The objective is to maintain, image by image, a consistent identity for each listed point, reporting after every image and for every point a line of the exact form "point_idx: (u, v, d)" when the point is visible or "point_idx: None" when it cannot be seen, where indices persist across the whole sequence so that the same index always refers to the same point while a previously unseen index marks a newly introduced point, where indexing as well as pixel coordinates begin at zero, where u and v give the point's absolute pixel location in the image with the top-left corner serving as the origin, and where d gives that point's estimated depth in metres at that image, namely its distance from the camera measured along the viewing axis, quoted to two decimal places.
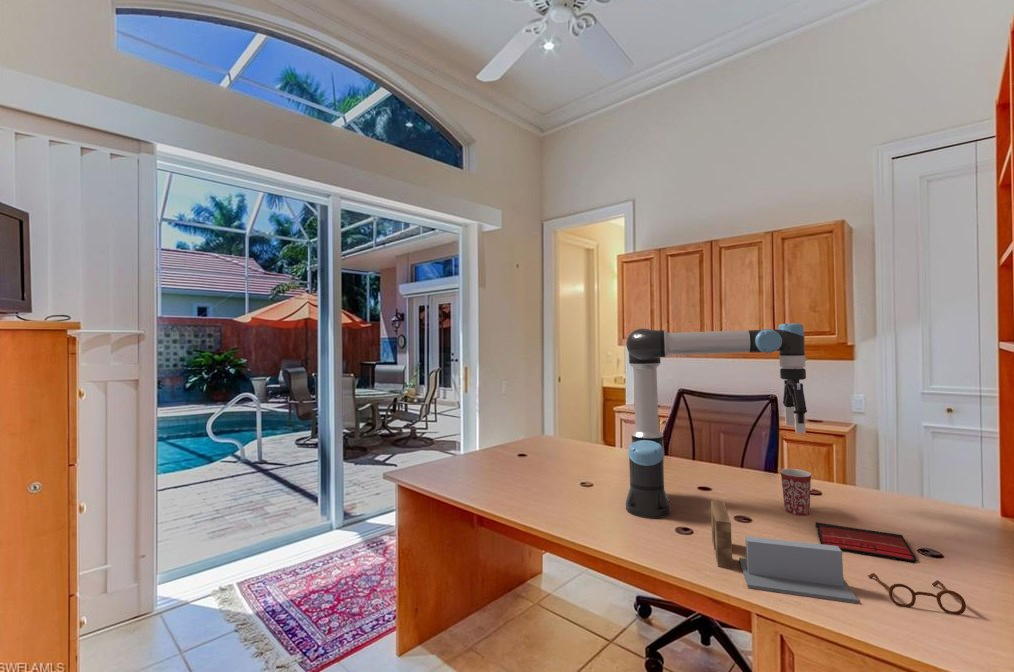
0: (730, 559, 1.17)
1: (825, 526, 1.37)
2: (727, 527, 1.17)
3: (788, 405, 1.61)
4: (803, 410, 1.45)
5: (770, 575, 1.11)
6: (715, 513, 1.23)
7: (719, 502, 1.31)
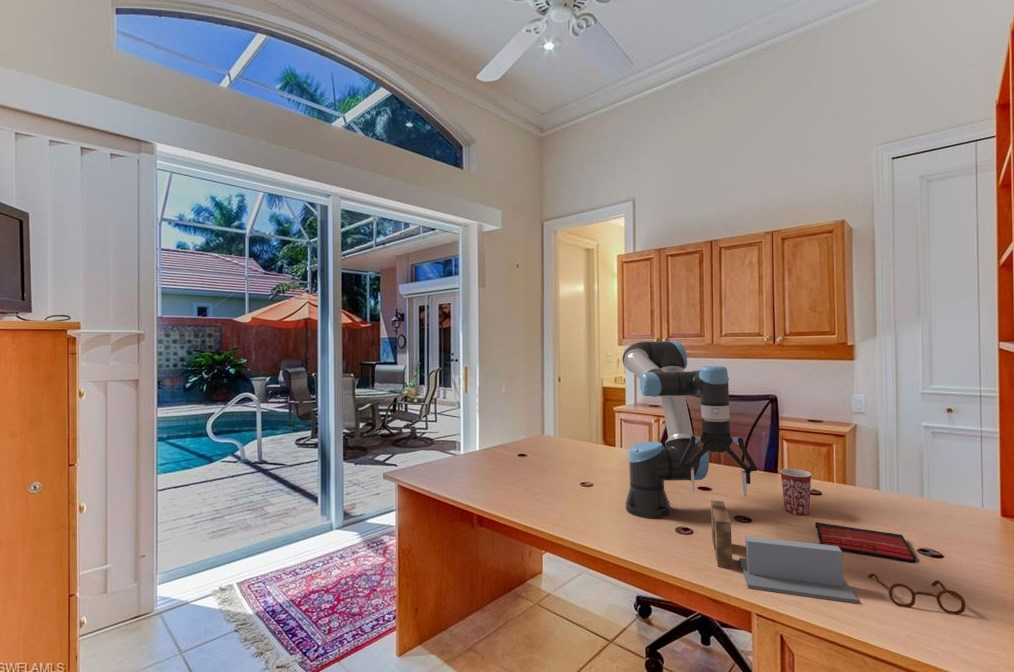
0: (730, 559, 1.17)
1: (825, 526, 1.37)
2: (727, 527, 1.17)
3: None
4: (680, 463, 1.32)
5: (770, 575, 1.11)
6: (715, 513, 1.23)
7: (719, 502, 1.31)
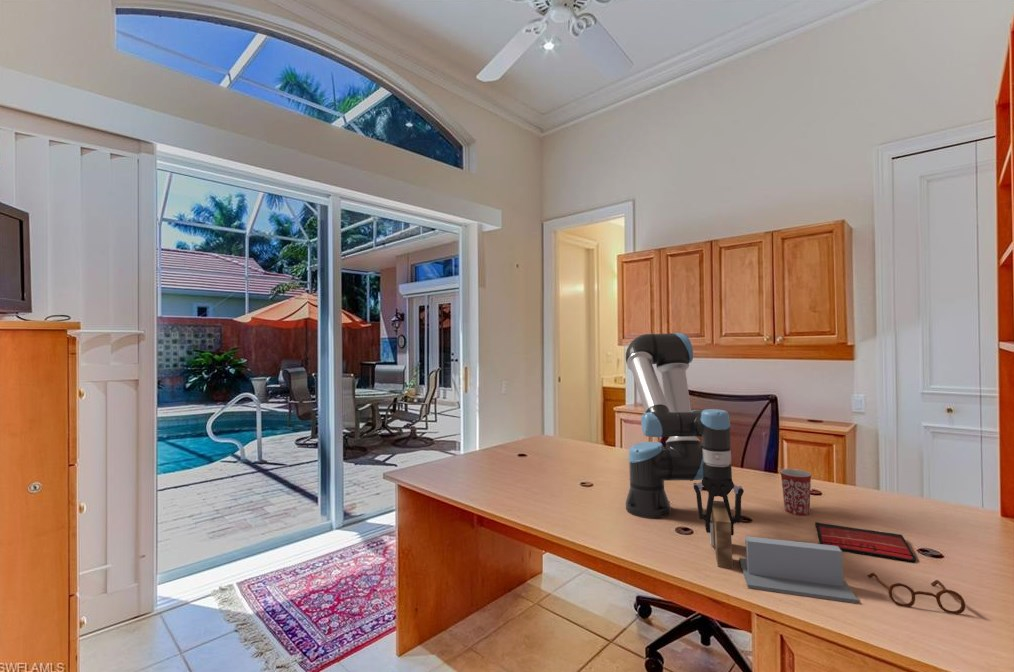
0: (730, 559, 1.17)
1: (825, 526, 1.37)
2: (727, 527, 1.17)
3: None
4: None
5: (770, 575, 1.11)
6: (715, 513, 1.23)
7: (719, 502, 1.31)
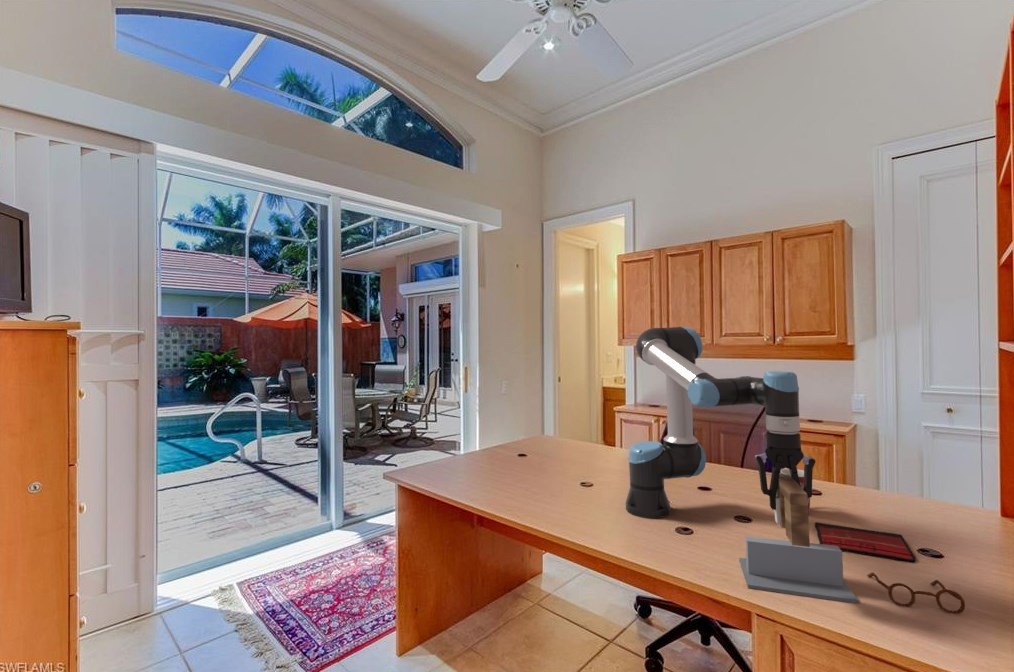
0: (807, 536, 1.02)
1: (824, 526, 1.37)
2: (803, 499, 1.03)
3: None
4: (762, 490, 1.16)
5: (770, 575, 1.11)
6: (785, 485, 1.09)
7: (785, 475, 1.16)
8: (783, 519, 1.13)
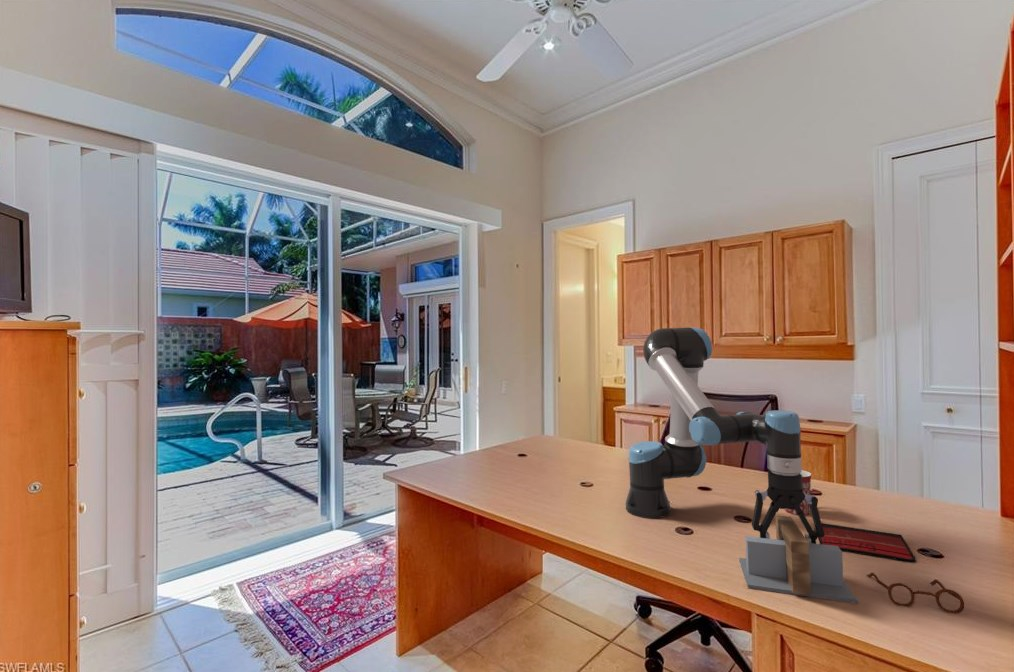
0: (808, 585, 1.02)
1: (824, 526, 1.37)
2: (804, 548, 1.03)
3: (809, 534, 1.13)
4: (752, 526, 1.17)
5: (770, 575, 1.11)
6: (786, 531, 1.09)
7: (786, 518, 1.17)
8: None
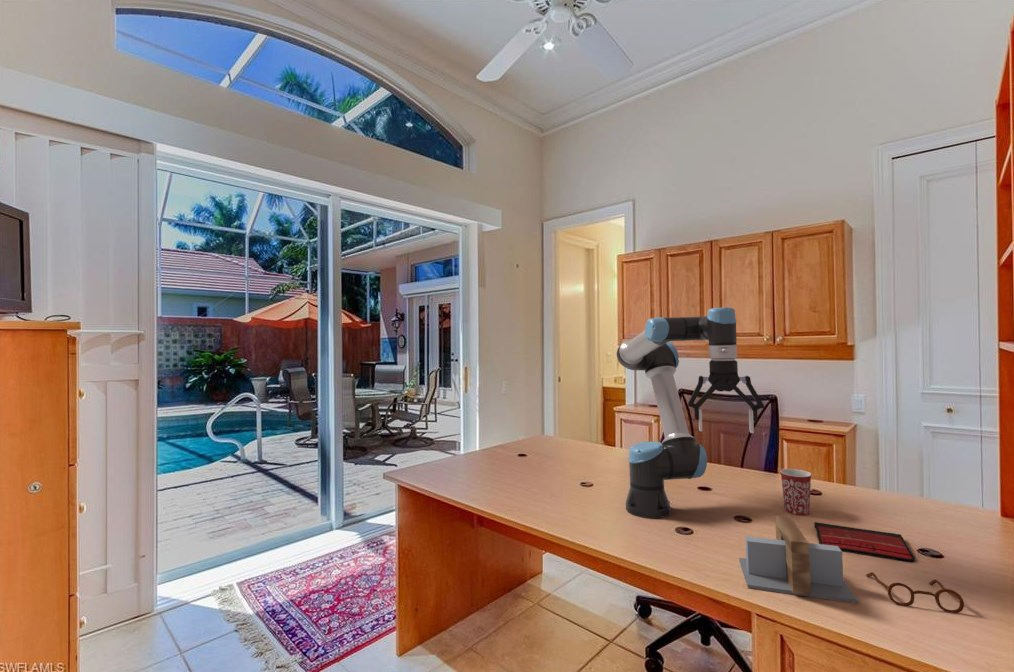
0: (808, 585, 1.02)
1: (824, 526, 1.37)
2: (804, 548, 1.03)
3: (751, 407, 1.30)
4: (688, 404, 1.35)
5: (770, 575, 1.11)
6: (786, 531, 1.09)
7: (786, 518, 1.17)
8: None
